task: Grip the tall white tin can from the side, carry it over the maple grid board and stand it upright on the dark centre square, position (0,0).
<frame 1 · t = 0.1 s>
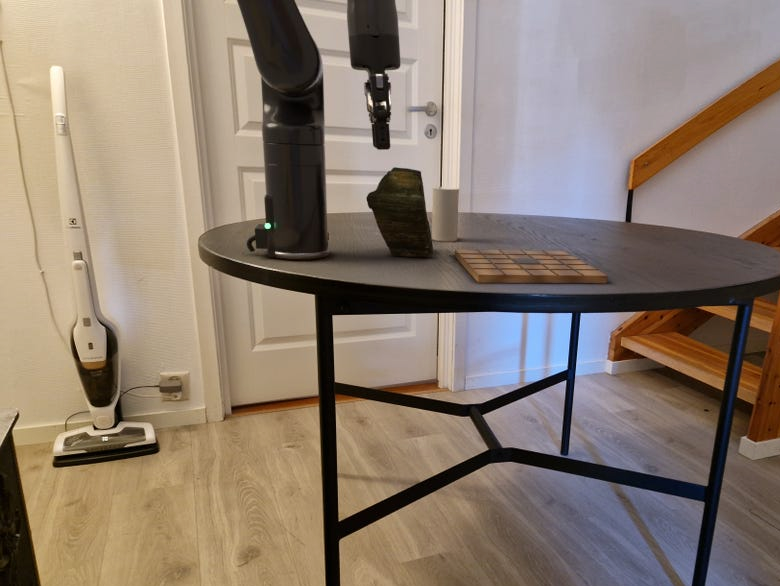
hand: (381, 148, 98), 17 cm above the table, tool pointing down, fingers open, 8 cm apart
board: (525, 268, 100), on the table
rock: (402, 255, 106), on the table
white tin can: (444, 239, 124), on the table
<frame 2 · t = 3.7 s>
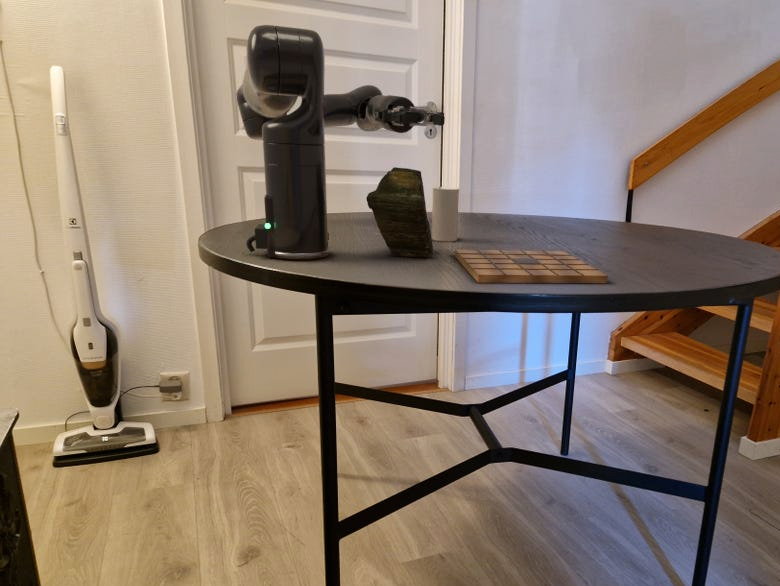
hand: (423, 119, 127), 23 cm above the table, tool horizontal, fingers open, 8 cm apart
nothing on the table moved.
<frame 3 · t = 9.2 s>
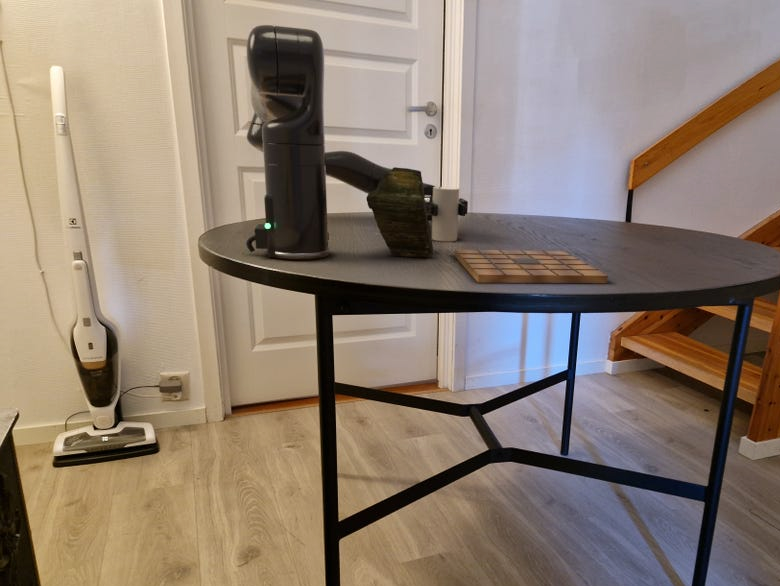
hand: (450, 210, 120), 6 cm above the table, tool horizontal, fingers closed on white tin can, 5 cm apart
white tin can: (444, 239, 124), on the table, touching gripper
everything else where it was.
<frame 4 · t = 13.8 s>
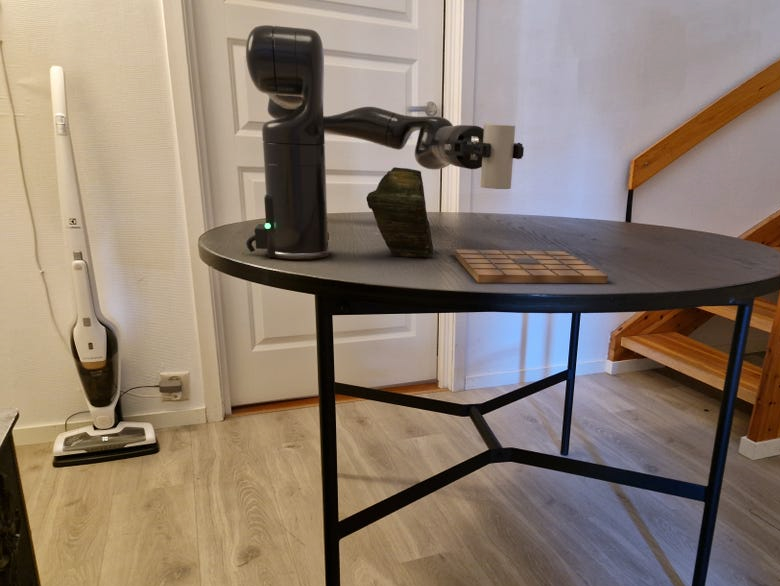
hand: (504, 151, 101), 18 cm above the table, tool horizontal, fingers closed on white tin can, 5 cm apart
white tin can: (495, 187, 105), point 12 cm above the table, touching gripper
everything else where it was.
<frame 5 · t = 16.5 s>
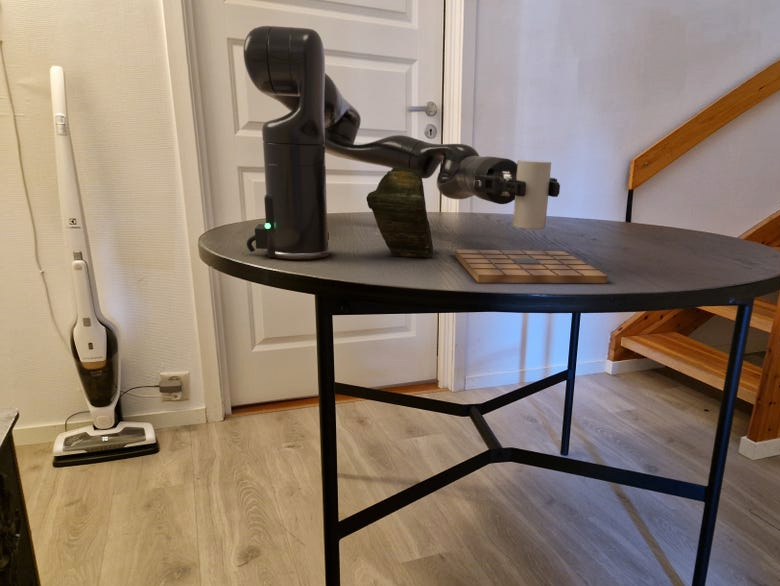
hand: (540, 189, 94), 13 cm above the table, tool horizontal, fingers closed on white tin can, 5 cm apart
white tin can: (529, 226, 98), point 7 cm above the table, touching gripper
everything else where it was.
when the fingers open (7 cm above the table, at t = 18.5 s): white tin can stays where it is, resting on board.
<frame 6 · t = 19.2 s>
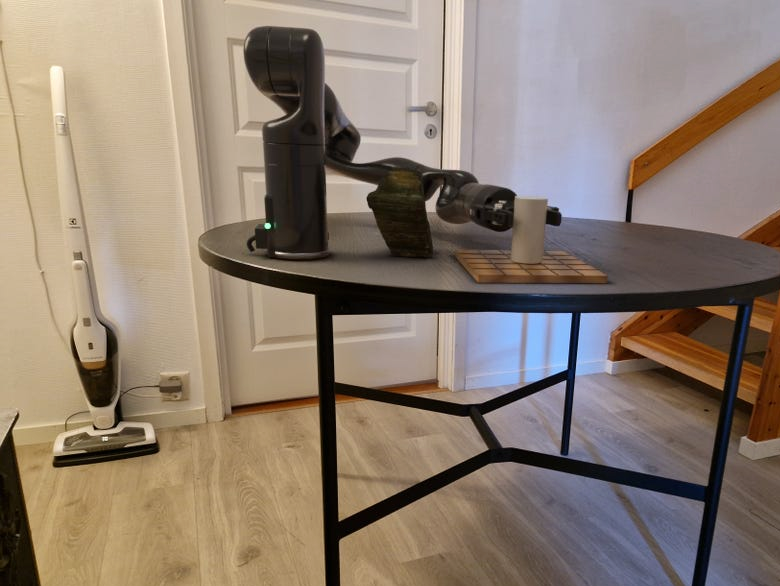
hand: (535, 219, 96), 8 cm above the table, tool horizontal, fingers open, 8 cm apart
white tin can: (526, 260, 100), point 1 cm above the table, touching board
everything else where it was.
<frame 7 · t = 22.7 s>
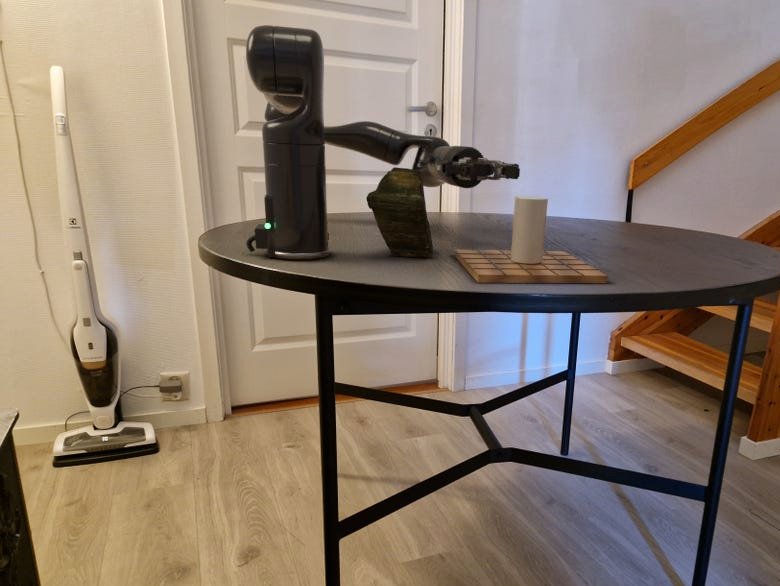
hand: (494, 172, 106), 14 cm above the table, tool horizontal, fingers open, 8 cm apart
nothing on the table moved.
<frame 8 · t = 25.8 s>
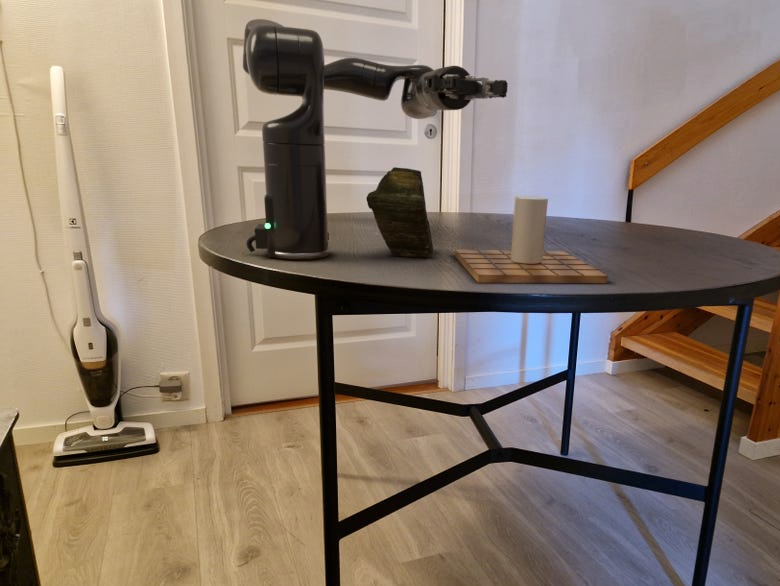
hand: (481, 85, 103), 28 cm above the table, tool horizontal, fingers open, 8 cm apart
nothing on the table moved.
at the end: white tin can 0.1 cm off-centre on the board, point 1.3 cm above the board's base; white tin can tilted 0°; the gripper is holding nothing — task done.
